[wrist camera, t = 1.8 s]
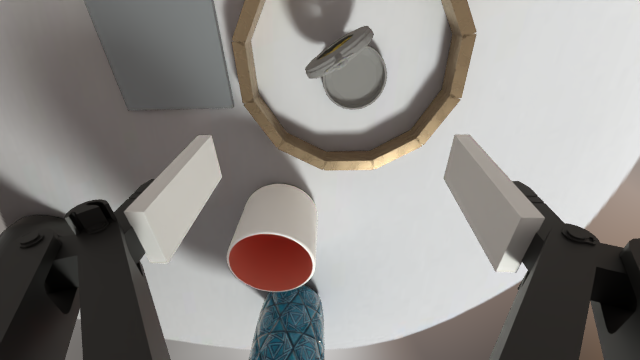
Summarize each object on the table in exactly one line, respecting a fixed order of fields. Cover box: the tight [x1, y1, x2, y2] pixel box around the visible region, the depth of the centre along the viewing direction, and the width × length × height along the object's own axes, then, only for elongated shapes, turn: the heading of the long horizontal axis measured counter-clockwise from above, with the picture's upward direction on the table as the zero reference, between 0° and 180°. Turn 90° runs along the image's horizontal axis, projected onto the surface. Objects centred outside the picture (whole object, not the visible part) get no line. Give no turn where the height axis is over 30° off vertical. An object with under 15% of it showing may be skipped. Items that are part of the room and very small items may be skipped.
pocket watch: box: [305, 26, 387, 110], centre depth 26 cm, size 8×8×10 cm
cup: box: [227, 184, 318, 292], centre depth 37 cm, size 10×10×10 cm
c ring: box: [232, 0, 476, 170], centre depth 29 cm, size 22×22×2 cm
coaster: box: [84, 0, 234, 110], centre depth 29 cm, size 12×12×1 cm
